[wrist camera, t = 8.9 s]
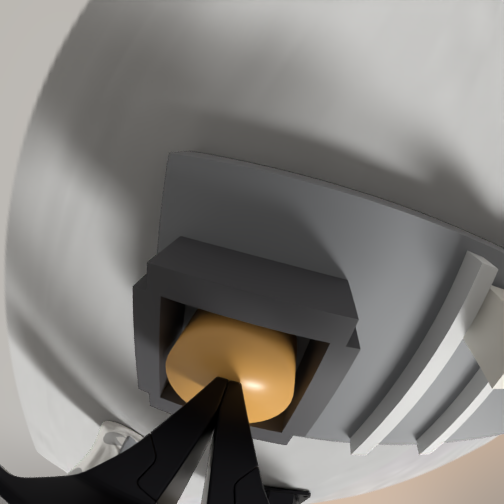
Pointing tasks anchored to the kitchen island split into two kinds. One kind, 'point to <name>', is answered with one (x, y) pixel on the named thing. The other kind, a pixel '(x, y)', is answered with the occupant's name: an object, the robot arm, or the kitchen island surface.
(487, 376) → the cream rectangular brick
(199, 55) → the kitchen island surface
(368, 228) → the panel
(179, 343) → the button
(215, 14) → the kitchen island surface
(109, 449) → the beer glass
